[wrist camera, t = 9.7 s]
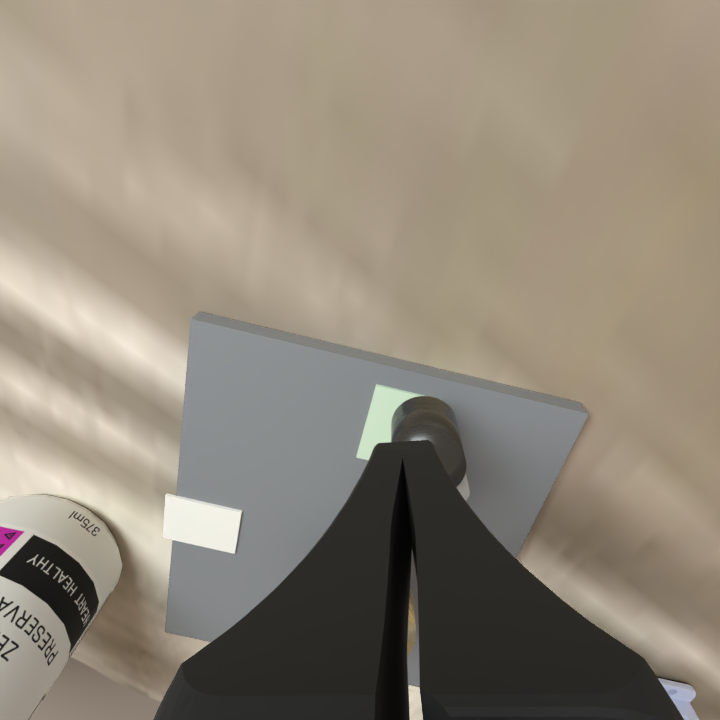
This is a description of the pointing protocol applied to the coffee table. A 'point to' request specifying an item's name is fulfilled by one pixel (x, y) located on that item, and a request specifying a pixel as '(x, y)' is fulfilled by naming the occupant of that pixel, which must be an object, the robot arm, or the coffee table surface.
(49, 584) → the supplement can
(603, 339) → the coffee table surface
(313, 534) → the plate
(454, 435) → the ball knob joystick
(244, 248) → the coffee table surface
